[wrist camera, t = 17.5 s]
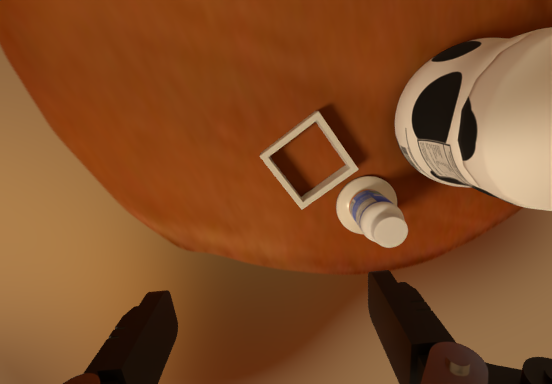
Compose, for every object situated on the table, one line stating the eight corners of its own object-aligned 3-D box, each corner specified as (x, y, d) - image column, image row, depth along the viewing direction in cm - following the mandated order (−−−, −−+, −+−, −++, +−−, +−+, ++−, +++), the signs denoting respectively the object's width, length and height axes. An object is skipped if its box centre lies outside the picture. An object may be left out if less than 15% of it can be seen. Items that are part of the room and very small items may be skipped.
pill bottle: (391, 204, 43) (425, 231, 34) (364, 228, 44) (389, 261, 35) (366, 180, 42) (394, 201, 33) (340, 206, 43) (359, 234, 34)
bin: (260, 153, 41) (259, 156, 39) (315, 110, 40) (318, 111, 37) (299, 204, 43) (301, 209, 41) (353, 165, 42) (358, 169, 39)
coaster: (324, 199, 43) (325, 201, 43) (375, 163, 42) (376, 164, 41) (356, 243, 45) (358, 244, 45) (406, 209, 44) (408, 211, 43)
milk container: (533, 67, 39) (747, 35, 21) (477, 188, 43) (615, 242, 26) (413, 31, 37) (538, -35, 20) (368, 160, 42) (438, 199, 24)
